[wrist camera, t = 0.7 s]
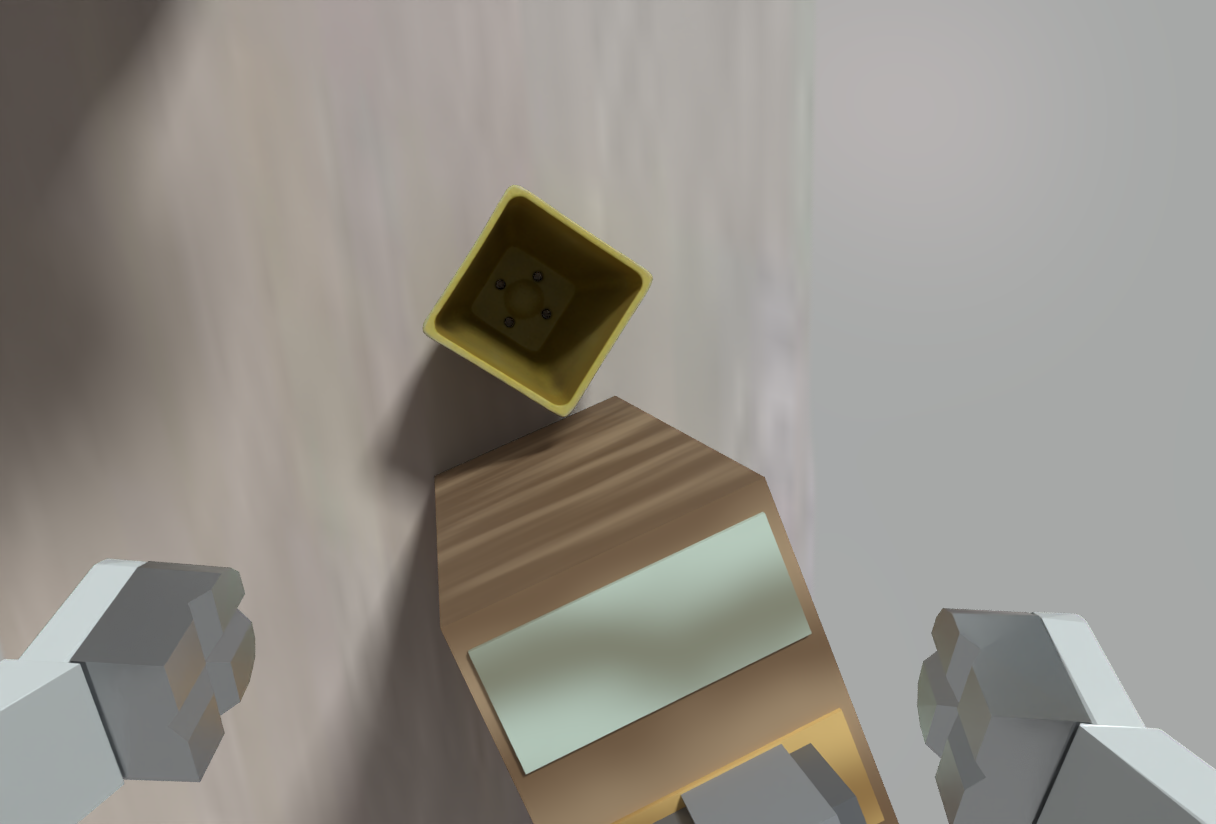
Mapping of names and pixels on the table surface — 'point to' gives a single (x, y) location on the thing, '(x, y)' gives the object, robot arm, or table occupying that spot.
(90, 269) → the table surface
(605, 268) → the flower pot
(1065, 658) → the robot arm
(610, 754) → the panel block
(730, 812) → the dark grey square bar
